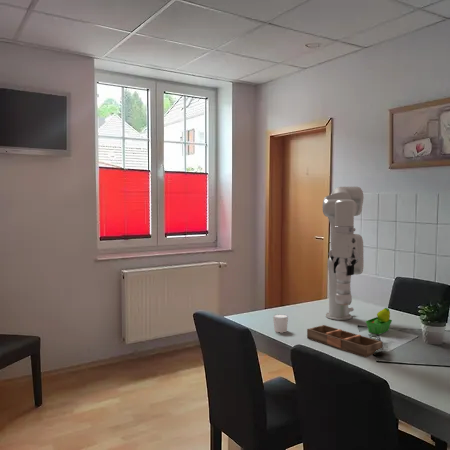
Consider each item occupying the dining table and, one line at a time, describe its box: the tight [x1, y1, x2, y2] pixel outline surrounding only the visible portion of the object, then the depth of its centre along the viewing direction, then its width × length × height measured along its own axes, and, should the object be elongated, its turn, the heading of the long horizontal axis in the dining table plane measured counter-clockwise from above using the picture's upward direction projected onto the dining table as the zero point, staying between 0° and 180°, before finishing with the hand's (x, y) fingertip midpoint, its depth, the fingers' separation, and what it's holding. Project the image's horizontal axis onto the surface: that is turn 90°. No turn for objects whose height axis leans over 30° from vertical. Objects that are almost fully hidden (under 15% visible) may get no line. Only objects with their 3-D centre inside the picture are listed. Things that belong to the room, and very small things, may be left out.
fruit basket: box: [365, 307, 393, 335], centre depth 208 cm, size 11×9×11 cm
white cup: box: [272, 313, 289, 334], centre depth 210 cm, size 7×7×7 cm
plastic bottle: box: [335, 258, 353, 306], centre depth 189 cm, size 6×7×20 cm
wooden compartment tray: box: [306, 324, 384, 358], centre depth 190 cm, size 11×30×4 cm, turn 36°
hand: (343, 273), depth 188 cm, fingers closed on plastic bottle, 6 cm apart
